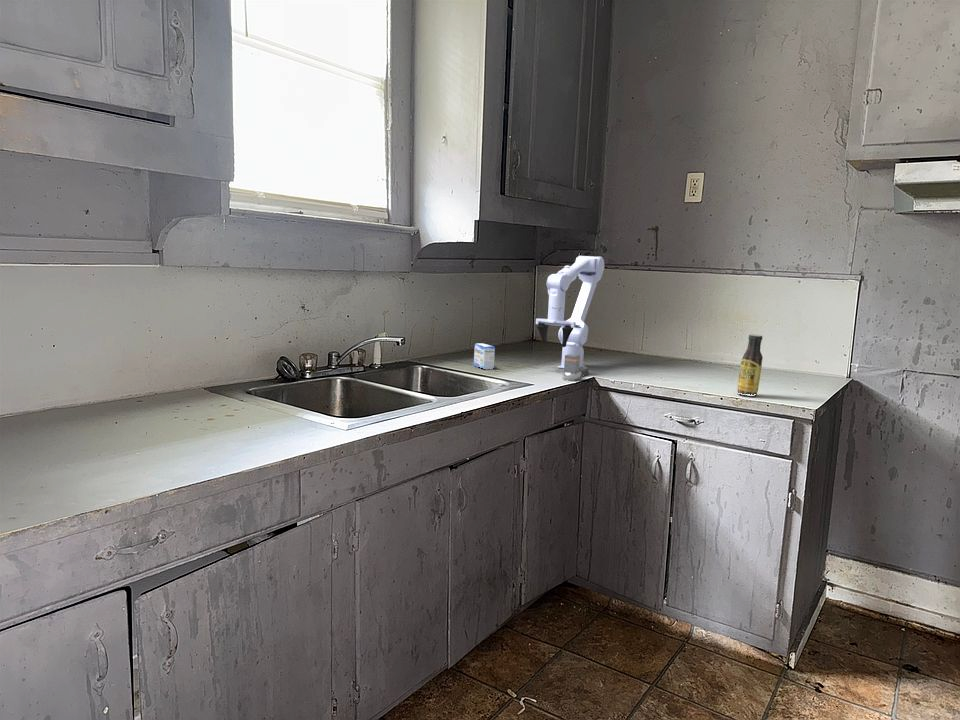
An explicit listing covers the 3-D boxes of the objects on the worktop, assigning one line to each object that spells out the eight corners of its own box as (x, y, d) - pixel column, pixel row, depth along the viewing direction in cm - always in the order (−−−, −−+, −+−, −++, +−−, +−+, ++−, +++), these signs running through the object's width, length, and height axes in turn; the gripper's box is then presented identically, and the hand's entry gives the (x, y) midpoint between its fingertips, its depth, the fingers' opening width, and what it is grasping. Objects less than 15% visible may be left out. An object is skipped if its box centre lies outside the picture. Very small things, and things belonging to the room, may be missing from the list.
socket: (567, 370, 232) (568, 353, 231) (578, 372, 230) (580, 355, 229) (563, 372, 228) (564, 355, 227) (575, 374, 226) (576, 356, 225)
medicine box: (473, 366, 247) (474, 343, 246) (483, 365, 249) (484, 343, 248) (483, 370, 240) (484, 346, 239) (494, 369, 242) (495, 346, 241)
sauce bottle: (732, 394, 216) (739, 333, 212) (743, 392, 220) (750, 333, 216) (751, 398, 211) (758, 336, 207) (762, 396, 214) (769, 335, 211)
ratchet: (576, 372, 244) (577, 358, 243) (592, 374, 241) (593, 360, 240) (559, 379, 228) (560, 365, 228) (576, 381, 226) (577, 367, 225)
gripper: (533, 307, 237) (531, 344, 239) (571, 310, 230) (569, 348, 233) (540, 306, 243) (538, 342, 245) (578, 309, 237) (576, 346, 239)
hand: (554, 345), depth 239 cm, fingers open, 7 cm apart
